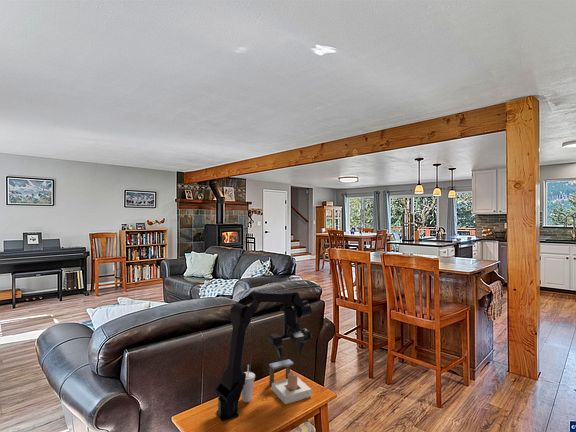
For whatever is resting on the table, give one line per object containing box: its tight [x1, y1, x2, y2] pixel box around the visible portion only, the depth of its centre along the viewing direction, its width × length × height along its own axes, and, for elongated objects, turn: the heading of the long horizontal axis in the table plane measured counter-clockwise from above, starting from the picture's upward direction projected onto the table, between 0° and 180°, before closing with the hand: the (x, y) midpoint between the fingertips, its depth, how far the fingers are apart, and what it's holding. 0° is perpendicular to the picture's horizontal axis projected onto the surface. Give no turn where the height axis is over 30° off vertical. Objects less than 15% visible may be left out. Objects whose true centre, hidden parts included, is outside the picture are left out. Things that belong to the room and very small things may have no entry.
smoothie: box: [241, 364, 256, 403], centre depth 133 cm, size 6×6×14 cm
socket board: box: [271, 377, 312, 405], centre depth 138 cm, size 12×12×3 cm
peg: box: [288, 372, 299, 392], centre depth 137 cm, size 4×4×8 cm
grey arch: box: [268, 358, 294, 386], centre depth 146 cm, size 10×4×9 cm, turn 118°
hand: (289, 356), depth 143 cm, fingers open, 9 cm apart
